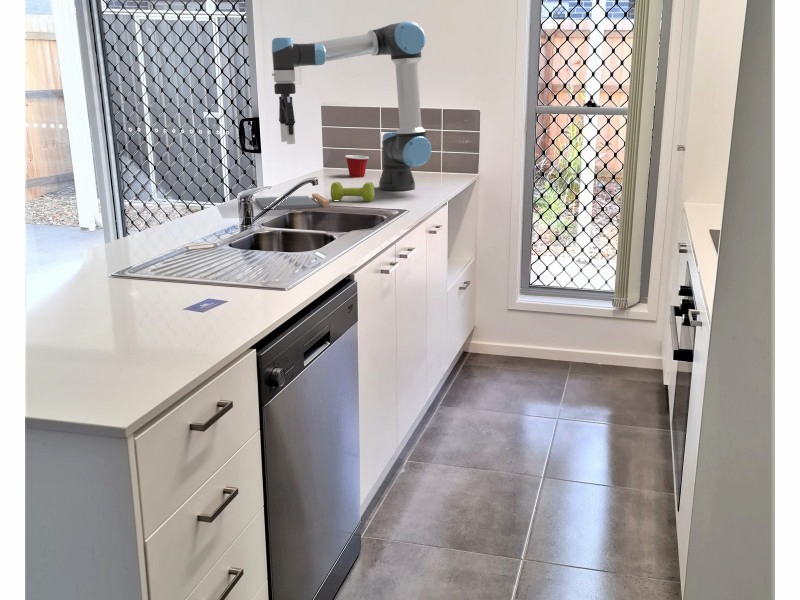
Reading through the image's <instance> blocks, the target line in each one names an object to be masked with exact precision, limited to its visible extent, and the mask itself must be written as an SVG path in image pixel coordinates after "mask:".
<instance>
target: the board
mask: <svg viewBox="0 0 800 600" xmlns="http://www.w3.org/2000/svg"><path fill="white" fill-rule="evenodd" d="M278 197H279V196H272V197H271V196H270V197H255V198H254V199H255V200H254V201H255V203H256V204H257V205H258V206H259V207H260V208H261V210H263V209H264V208H266V207H267V206H269V205H270V204H271V203H272V202H274V201H275V200H276V199H277V198H278ZM287 197H288V198H287V199H285V200H284V201H283V202H281V203H280V204H279V205H277V206H276V207H275V208H274V209H273V210H288V209H289V210H290V209H291V210H292V209H293V210H294V209H310V208H311V209H312V208H319V206H320V204H319V203H318V202H316V201H315V200H314V199H313V198H310V197H309V196H308V195H298V196H297V195H294V196H287Z"/></svg>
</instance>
